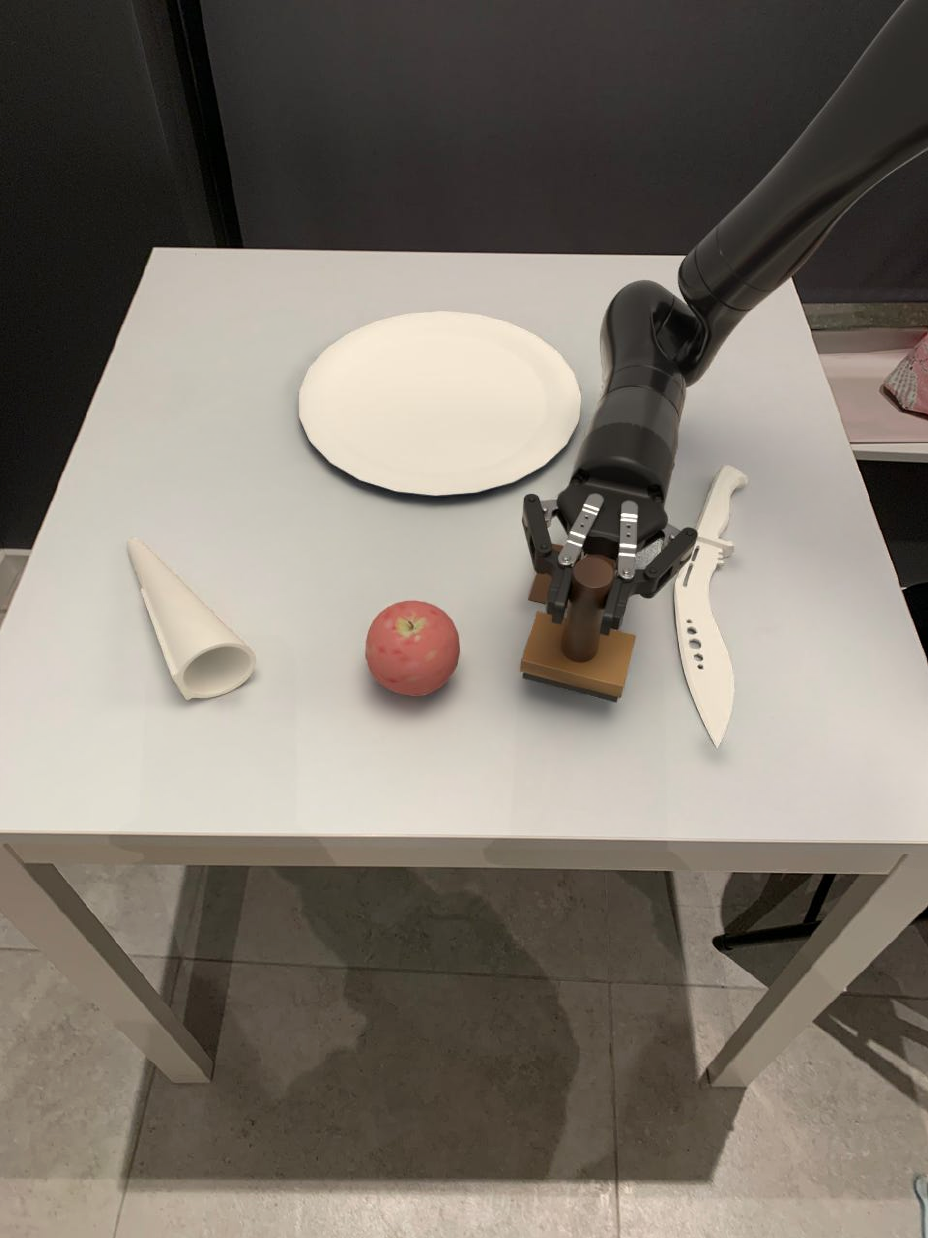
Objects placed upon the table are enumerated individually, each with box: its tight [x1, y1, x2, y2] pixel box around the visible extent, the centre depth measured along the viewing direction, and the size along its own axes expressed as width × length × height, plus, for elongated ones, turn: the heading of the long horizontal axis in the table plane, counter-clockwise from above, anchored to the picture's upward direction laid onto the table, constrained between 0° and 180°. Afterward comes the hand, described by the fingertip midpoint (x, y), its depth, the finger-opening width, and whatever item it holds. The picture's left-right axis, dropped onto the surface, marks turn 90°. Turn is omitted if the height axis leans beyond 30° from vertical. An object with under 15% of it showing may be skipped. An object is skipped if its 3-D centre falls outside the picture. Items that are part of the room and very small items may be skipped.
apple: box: [365, 599, 461, 697], centre depth 73 cm, size 7×7×8 cm
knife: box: [673, 464, 749, 749], centre depth 81 cm, size 30×2×8 cm
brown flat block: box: [527, 542, 614, 610], centre depth 83 cm, size 8×7×1 cm
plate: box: [298, 310, 582, 498], centre depth 97 cm, size 29×29×2 cm
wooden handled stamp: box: [519, 557, 637, 704], centre depth 69 cm, size 8×5×12 cm, turn 73°
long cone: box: [126, 536, 257, 701], centre depth 79 cm, size 6×6×19 cm
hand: (581, 621), depth 65 cm, fingers closed on wooden handled stamp, 3 cm apart
